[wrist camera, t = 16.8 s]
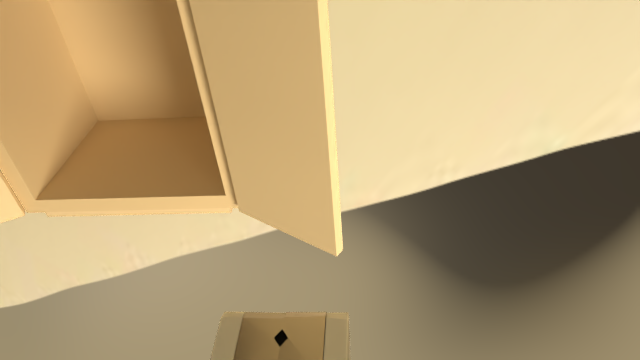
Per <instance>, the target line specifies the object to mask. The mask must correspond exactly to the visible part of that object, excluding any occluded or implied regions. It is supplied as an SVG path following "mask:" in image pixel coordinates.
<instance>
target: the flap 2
mask: <svg viewBox="0 0 640 360" xmlns="http://www.w3.org/2000/svg"><path fill="white" fill-rule="evenodd" d="M189 2H190V6H191V10H192V15H193V19H194V23H195V27H196V31H197V36H198V40H199V44H200V48H201V52H202V57H203V61H204V65H205V69H206V74H207V78H208V82H209V86H210V90H211V95H212V99H213V103H214V107H215V111H216V116H217V120H218V124H219V128H220V133H221V137H222V141H223V145H224V149H225V154H226V158H227V162H228V166H229V170H230V175H231V179H232V183H233V187H234V192H235V196H236V200H237V204H238V208H239V211H240V212H242V213H244V214H246V215H249V216H251V217H253V218H255V219H257V220H259V221H261V222H264V223H266V224H268V225H270V226H272V227H274V228H277V229H279V230H281V231H283V232H285V233H287V234H289V235H292V236H294V237H296V238H298V239H300V240H302V241H305V242H307V243H309V244H311V245H313V246H315V247H317V248H319V249H322V250H324V251H326V252H328V253H330V254H332V255H334V256H338V254H339V253H340V252H341V251H342V250H343V243H342V228H341V227H342V226H341V210H340V195H339V179H338V163H337V147H336V131H335V115H334V99H333V83H332V67H331V51H330V35H329V19H328V3H327V0H189Z"/></svg>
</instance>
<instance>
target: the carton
mask: <svg viewBox="0 0 640 360" xmlns="http://www.w3.org/2000/svg"><path fill="white" fill-rule="evenodd" d="M0 168H1V170H2V172H3V173H4V175H5V177H6V178H7V180H8V182H9V183H10V185H11V187H12V188H13V190H14V192H15V193H16V195H17V196H18V198H19V200H20V201H21V203H22V205H23V206H24V208H25V210H26V211H27V213H35V212H45V213H46V215H47V217H53V216H98V215H144V214H189V213H231V212H232V209H233V208H238V204H237V200H236V196H235V192H234V187H233V183H232V179H231V175H230V170H229V166H228V162H227V158H226V154H225V149H224V145H223V141H222V137H221V133H220V128H219V124H218V120H217V116H216V111H215V107H214V103H213V99H212V95H211V90H210V86H209V82H208V78H207V74H206V69H205V65H204V61H203V57H202V52H201V48H200V44H199V40H198V36H197V31H196V27H195V23H194V19H193V15H192V10H191V6H190V2H189V0H0Z"/></svg>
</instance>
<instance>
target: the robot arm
mask: <svg viewBox="0 0 640 360" xmlns="http://www.w3.org/2000/svg"><path fill="white" fill-rule="evenodd" d="M349 328H350V327H349V313H347V312H346V313H345V312H344V313H327V312H286V313H264V312H263V313H262V312H258V313H257V312H224V314H223V316H222V317H221V320H220V323H219V327H218V332H217V335H216V339H215V342H214V346H213V350H212V354H211V358H210V360H351V351H350V350H351V348H350V329H349Z"/></svg>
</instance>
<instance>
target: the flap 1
mask: <svg viewBox="0 0 640 360" xmlns="http://www.w3.org/2000/svg"><path fill="white" fill-rule="evenodd" d="M22 216H25V209H24V208H23V206H22V204H21V203H20V201H19V200H18V198H17V196H16V195H15V193H14V191H13V190H12V188H11V186H10V185H9V183H8V181H7V180H6V178H5V176H4V175H3V173H2V171H1V170H0V223H2V222H6V221H9V220H12V219H15V218H19V217H22Z"/></svg>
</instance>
